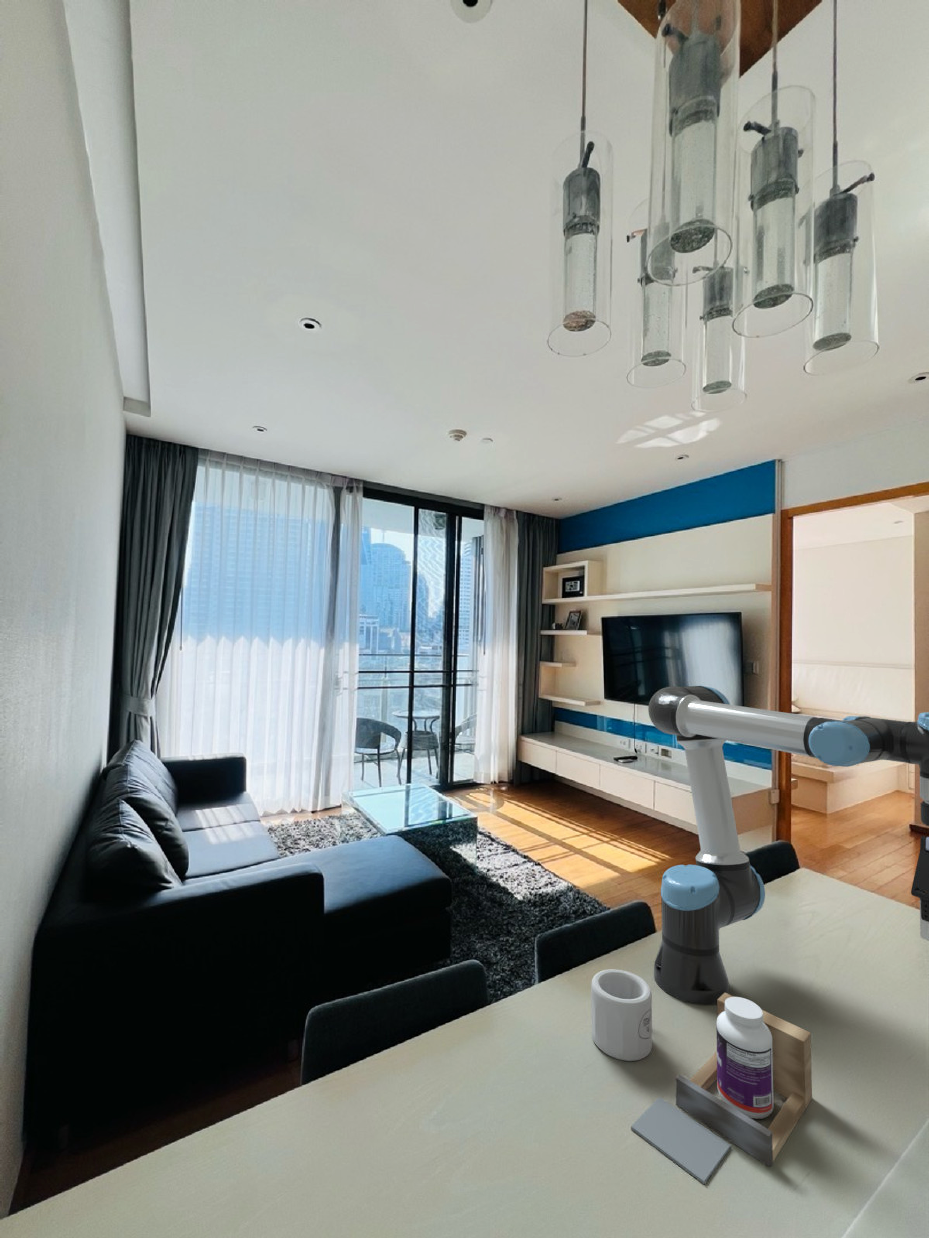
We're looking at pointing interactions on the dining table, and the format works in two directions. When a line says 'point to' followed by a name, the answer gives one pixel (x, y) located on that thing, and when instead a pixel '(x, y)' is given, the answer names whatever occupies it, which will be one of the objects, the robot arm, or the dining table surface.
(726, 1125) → the wooden bottle holder
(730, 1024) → the pill bottle
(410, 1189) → the dining table surface
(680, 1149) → the mat
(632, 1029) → the mug
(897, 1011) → the dining table surface
